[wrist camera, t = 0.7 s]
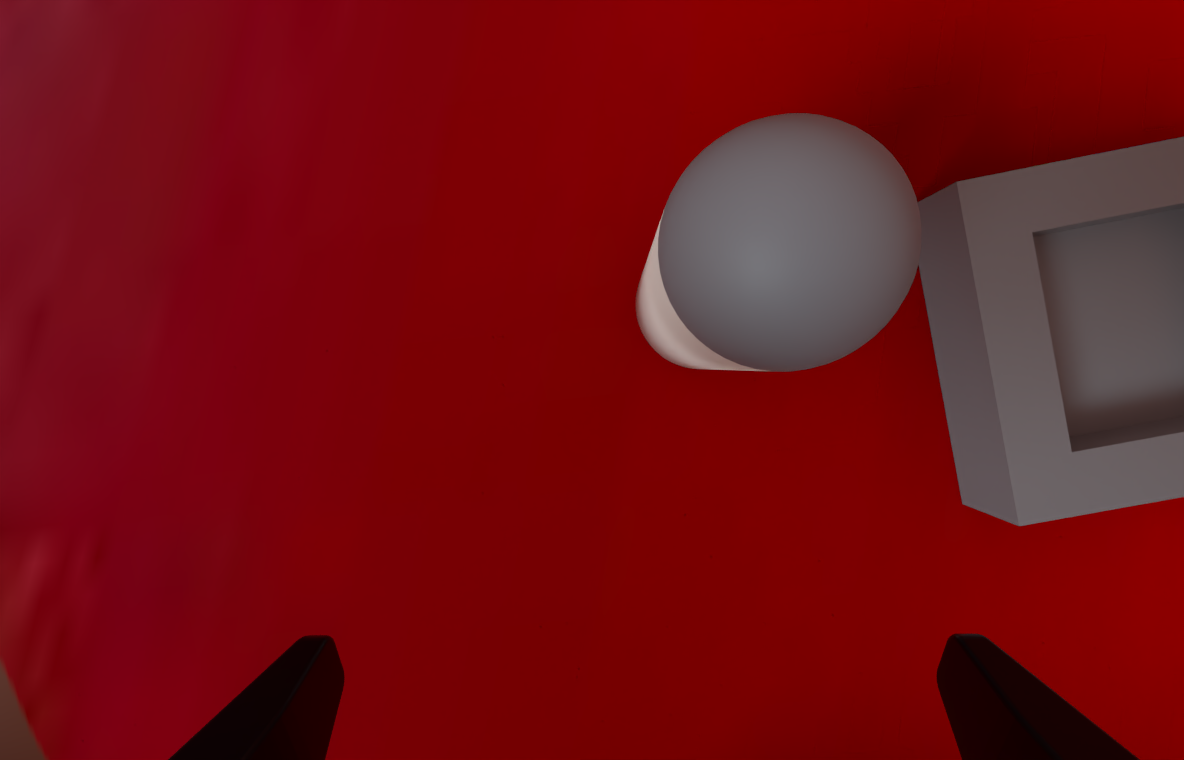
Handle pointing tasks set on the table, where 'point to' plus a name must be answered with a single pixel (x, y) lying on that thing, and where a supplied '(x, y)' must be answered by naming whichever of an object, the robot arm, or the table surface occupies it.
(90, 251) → the table surface
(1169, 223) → the jig
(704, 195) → the grey round-top peg
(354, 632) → the table surface
